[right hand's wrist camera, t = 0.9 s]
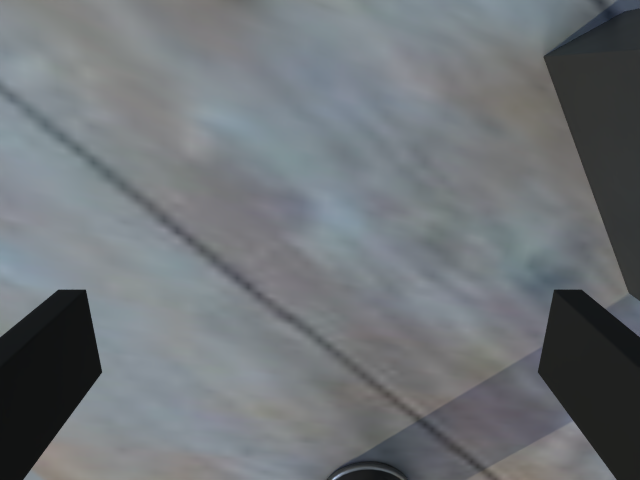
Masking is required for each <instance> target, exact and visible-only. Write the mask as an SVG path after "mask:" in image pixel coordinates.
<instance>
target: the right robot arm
mask: <svg viewBox="0 0 640 480" xmlns="http://www.w3.org/2000/svg"><path fill="white" fill-rule="evenodd" d="M101 373H102V369H101V364H100V359H99V354H98V349H97V344H96V339H95V334H94V329H93V324H92V318H91V313H90V308H89V303H88V298H87V293H86V290H58V291H56V292H55V293H54V294H53V295H51V296H50V297H49V298H48V299H47V300H45V301H44V302H43V303H42V304H40V305H39V306H38V307H37V308H36V309H34V310H33V311H32V312H31V313H29V314H28V315H27V316H26V317H25V318H23V319H22V320H21V321H20V322H18V323H17V324H16V325H15V326H14V327H12V328H11V329H10V330H9V331H7V332H6V333H5V334H4V335H3V336H1V337H0V480H23V479H24V478H25V477H26V475H27V474H28V472H29V471H30V470H31V468H32V467H33V466H34V464H35V463H36V462H37V460H38V459H39V458H40V456H41V455H42V453H43V452H44V451H45V449H46V448H47V447H48V445H49V444H50V443H51V441H52V440H53V438H54V437H55V436H56V434H57V433H58V432H59V430H60V429H61V428H62V426H63V425H64V423H65V422H66V421H67V419H68V418H69V417H70V415H71V414H72V413H73V411H74V410H75V408H76V407H77V406H78V404H79V403H80V402H81V400H82V399H83V398H84V396H85V395H86V394H87V392H88V391H89V389H90V388H91V387H92V385H93V384H94V383H95V381H96V380H97V379H98V377H99V376H100V374H101ZM538 373H539V374H540V376H541V377H542V379H543V380H544V381H545V383H546V384H547V385H548V387H549V388H550V389H551V391H552V392H553V394H554V395H555V396H556V398H557V399H558V400H559V402H560V403H561V404H562V406H563V407H564V408H565V410H566V411H567V413H568V414H569V415H570V417H571V418H572V419H573V421H574V422H575V423H576V425H577V426H578V428H579V429H580V430H581V432H582V433H583V434H584V436H585V437H586V438H587V440H588V441H589V443H590V444H591V445H592V447H593V448H594V449H595V451H596V452H597V453H598V455H599V456H600V458H601V459H602V460H603V462H604V463H605V464H606V466H607V467H608V468H609V470H610V471H611V472H612V474H613V475H614V477H615V478H616V479H617V480H640V337H639V336H637V335H636V334H635V333H634V332H633V331H631V330H630V329H629V328H628V327H626V326H625V325H624V324H623V323H622V322H620V321H619V320H618V319H617V318H615V317H614V316H613V315H612V314H611V313H609V312H608V311H607V310H606V309H604V308H603V307H602V306H601V305H600V304H598V303H597V302H596V301H595V300H593V299H592V298H591V297H590V296H589V295H587V294H586V293H585V292H584V291H582V290H554V293H553V298H552V303H551V308H550V313H549V318H548V324H547V329H546V334H545V339H544V344H543V349H542V354H541V359H540V364H539V369H538Z"/></svg>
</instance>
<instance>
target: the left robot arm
mask: <svg viewBox="0 0 640 480" xmlns="http://www.w3.org/2000/svg"><path fill="white" fill-rule="evenodd" d="M327 480H408V479H407V478H406V477H405V476H404V475H403V474H402V473H401V472H400V471H398V470H397V469H395V468H393V467H391V466H388V465H385V464H381V463H375V462H361V463H355V464H351V465H348V466H345V467H343V468H341V469H339V470H338V471H336V472H335V473H333V474H332V475H331V476H330V477H329V478H328V479H327Z"/></svg>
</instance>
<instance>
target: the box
mask: <svg viewBox="0 0 640 480" xmlns="http://www.w3.org/2000/svg"><path fill="white" fill-rule="evenodd" d="M544 59H545V62H546V65H547V67H548V70H549V73H550V76H551V78H552V81H553V84H554V87H555V90H556V92H557V95H558V98H559V101H560V103H561V106H562V109H563V112H564V114H565V117H566V120H567V123H568V126H569V128H570V131H571V134H572V137H573V139H574V142H575V145H576V148H577V150H578V153H579V156H580V159H581V162H582V164H583V167H584V170H585V173H586V175H587V178H588V181H589V184H590V186H591V189H592V192H593V195H594V197H595V200H596V203H597V206H598V209H599V211H600V214H601V217H602V220H603V222H604V225H605V228H606V231H607V233H608V236H609V239H610V242H611V245H612V247H613V250H614V253H615V256H616V258H617V261H618V264H619V267H620V269H621V272H622V275H623V278H624V281H625V283H626V286H627V289H628V292H629V293H630V294H631V295H632V296H634V297H635V298H637V299H638V300H639V301H640V9H635V10H630V11H625V12H623V13H621V14H620V15H618V16H616V17H614V18H612V19H610V20H609V21H607V22H605V23H603V24H601V25H600V26H598V27H596V28H594V29H592V30H591V31H589V32H587V33H585V34H583V35H581V36H580V37H578V38H576V39H574V40H572V41H571V42H569V43H567V44H565V45H563V46H562V47H560V48H558V49H556V50H554V51H553V52H551V53H549V54H547V55H545V56H544Z"/></svg>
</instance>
